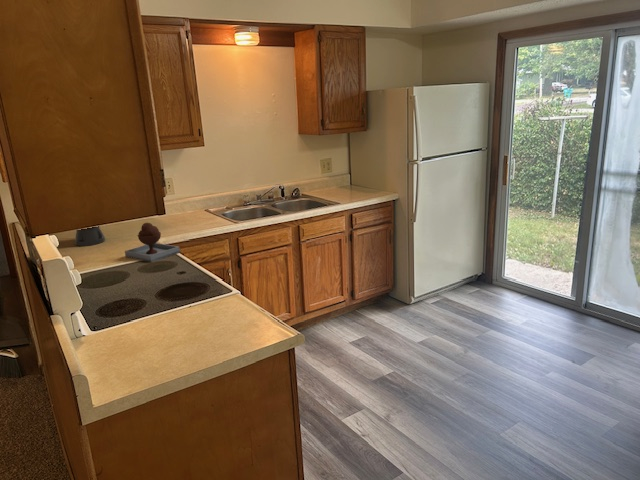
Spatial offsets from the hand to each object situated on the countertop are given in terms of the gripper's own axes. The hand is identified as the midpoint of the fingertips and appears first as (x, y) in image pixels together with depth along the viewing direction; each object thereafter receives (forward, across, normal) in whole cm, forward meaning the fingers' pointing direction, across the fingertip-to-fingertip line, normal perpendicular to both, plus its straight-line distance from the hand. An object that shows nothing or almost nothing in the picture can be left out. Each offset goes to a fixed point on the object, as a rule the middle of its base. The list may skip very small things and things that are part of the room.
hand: (132, 195), depth 238 cm
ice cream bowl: (+27, +13, -2) cm, 30 cm away
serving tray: (+28, +14, -2) cm, 31 cm away
